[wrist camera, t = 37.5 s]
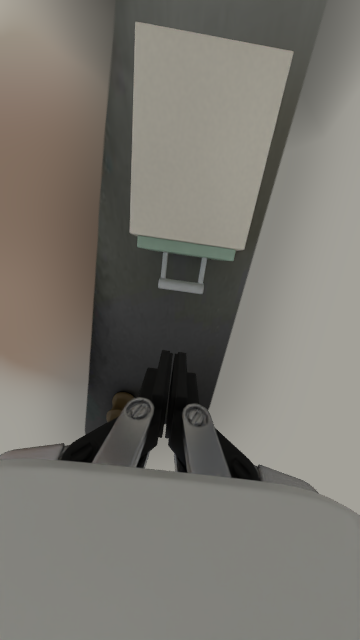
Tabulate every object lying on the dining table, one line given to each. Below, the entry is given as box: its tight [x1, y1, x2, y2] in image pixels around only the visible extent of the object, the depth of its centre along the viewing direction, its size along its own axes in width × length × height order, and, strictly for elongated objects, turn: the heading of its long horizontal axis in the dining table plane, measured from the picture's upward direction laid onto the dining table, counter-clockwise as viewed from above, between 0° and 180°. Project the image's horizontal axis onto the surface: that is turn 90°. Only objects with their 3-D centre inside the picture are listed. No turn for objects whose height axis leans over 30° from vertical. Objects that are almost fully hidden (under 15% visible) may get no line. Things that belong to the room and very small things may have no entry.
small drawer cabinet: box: [130, 22, 293, 251], centre depth 19 cm, size 14×12×10 cm
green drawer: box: [137, 235, 236, 294], centre depth 21 cm, size 18×11×8 cm, turn 172°
